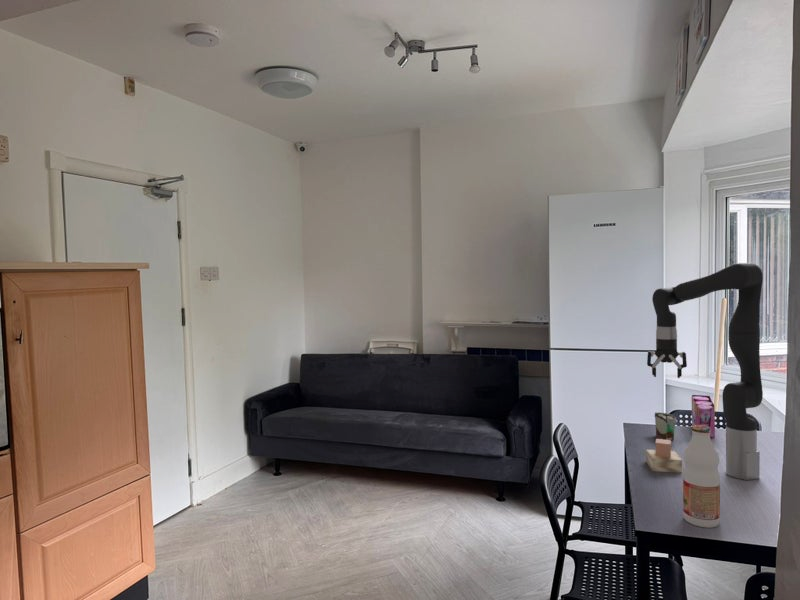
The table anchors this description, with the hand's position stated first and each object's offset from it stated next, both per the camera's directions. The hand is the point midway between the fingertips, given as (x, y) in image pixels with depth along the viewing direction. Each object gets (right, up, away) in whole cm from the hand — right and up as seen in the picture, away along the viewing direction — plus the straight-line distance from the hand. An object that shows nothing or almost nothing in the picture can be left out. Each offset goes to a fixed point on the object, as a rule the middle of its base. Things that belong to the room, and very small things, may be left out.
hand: (666, 377), depth 214 cm
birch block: (-9, -32, -16) cm, 37 cm away
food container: (+9, -29, +16) cm, 35 cm away
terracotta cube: (-10, -27, -16) cm, 33 cm away
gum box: (+30, -28, +27) cm, 49 cm away
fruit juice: (-20, -34, -59) cm, 71 cm away
